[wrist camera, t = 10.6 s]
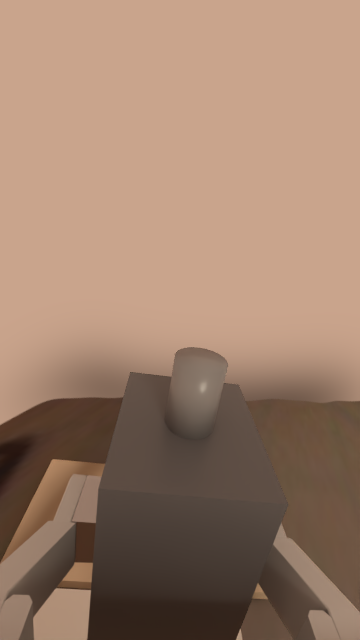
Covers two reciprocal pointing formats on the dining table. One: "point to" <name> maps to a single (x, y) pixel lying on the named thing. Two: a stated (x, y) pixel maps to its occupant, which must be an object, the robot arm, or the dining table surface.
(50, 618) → the beige holder tray
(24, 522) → the oak board
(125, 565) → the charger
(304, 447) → the dining table surface
